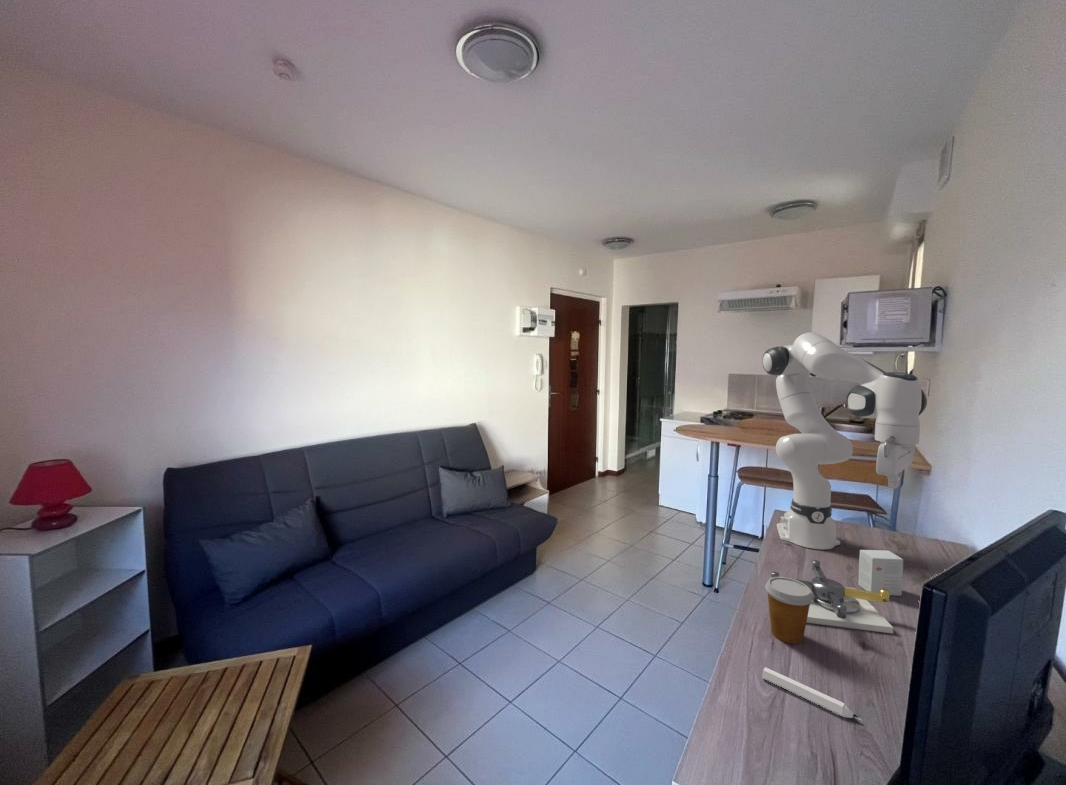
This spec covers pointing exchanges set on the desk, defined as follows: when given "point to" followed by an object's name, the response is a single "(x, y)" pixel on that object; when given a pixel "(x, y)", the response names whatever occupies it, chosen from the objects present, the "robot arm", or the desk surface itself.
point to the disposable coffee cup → (788, 608)
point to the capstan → (838, 593)
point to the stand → (850, 617)
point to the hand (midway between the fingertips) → (893, 487)
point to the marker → (808, 693)
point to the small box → (880, 571)
